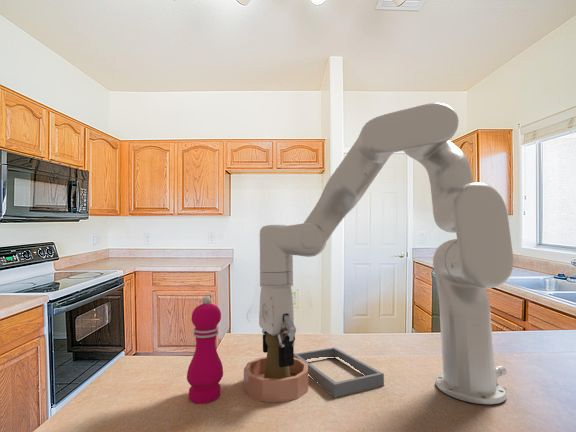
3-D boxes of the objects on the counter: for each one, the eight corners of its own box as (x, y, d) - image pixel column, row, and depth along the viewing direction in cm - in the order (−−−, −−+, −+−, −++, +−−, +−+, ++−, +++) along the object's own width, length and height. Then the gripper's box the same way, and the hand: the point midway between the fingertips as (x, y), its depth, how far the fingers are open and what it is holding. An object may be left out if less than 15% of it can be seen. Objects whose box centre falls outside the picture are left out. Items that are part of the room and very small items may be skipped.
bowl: (291, 369, 75) (291, 352, 75) (319, 393, 62) (319, 373, 63) (237, 379, 69) (237, 361, 70) (256, 408, 57) (256, 385, 57)
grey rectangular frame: (334, 356, 83) (334, 347, 83) (384, 385, 65) (383, 373, 66) (293, 364, 78) (293, 354, 78) (334, 397, 60) (334, 384, 61)
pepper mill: (185, 391, 63) (188, 294, 66) (220, 385, 66) (221, 293, 68) (186, 408, 57) (189, 300, 59) (225, 401, 59) (226, 297, 61)
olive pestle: (288, 389, 62) (287, 334, 63) (260, 387, 63) (260, 333, 65) (293, 377, 68) (292, 327, 69) (267, 375, 69) (267, 326, 70)
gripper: (249, 277, 74) (249, 349, 73) (275, 284, 59) (276, 376, 57) (277, 275, 78) (278, 344, 76) (309, 282, 62) (311, 369, 60)
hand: (277, 358), depth 66 cm, fingers open, 9 cm apart
